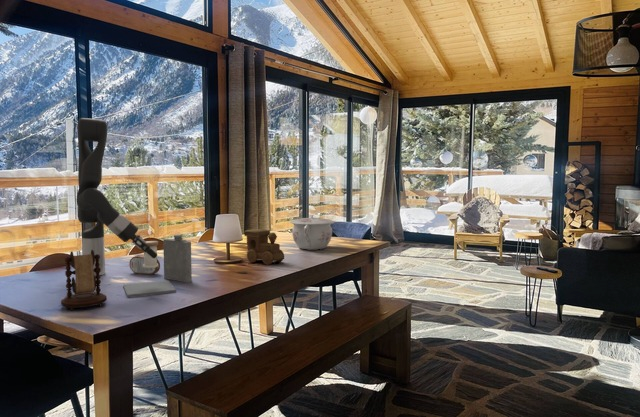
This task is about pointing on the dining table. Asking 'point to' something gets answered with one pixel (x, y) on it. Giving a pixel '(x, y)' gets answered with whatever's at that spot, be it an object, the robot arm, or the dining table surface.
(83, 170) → the robot arm
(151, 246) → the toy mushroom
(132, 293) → the mat
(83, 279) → the scroll
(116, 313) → the dining table surface
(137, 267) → the tin
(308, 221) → the chamber pot
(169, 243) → the hip flask
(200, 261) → the dining table surface
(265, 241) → the wooden toy train
